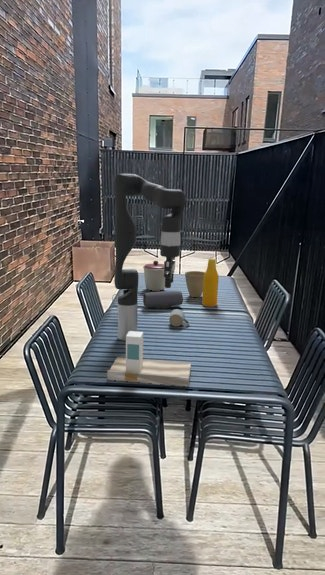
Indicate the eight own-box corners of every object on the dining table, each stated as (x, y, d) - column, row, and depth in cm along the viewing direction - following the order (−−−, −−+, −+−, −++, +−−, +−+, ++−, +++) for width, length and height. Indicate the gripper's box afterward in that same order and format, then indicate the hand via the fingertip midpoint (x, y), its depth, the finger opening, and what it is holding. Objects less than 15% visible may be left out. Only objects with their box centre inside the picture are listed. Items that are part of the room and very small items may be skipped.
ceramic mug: (168, 326, 202) (169, 312, 200) (170, 321, 210) (170, 308, 208) (188, 328, 201) (189, 314, 199) (189, 323, 209) (190, 309, 207)
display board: (117, 362, 159) (117, 354, 158) (190, 368, 155) (191, 360, 154) (107, 380, 144) (107, 371, 143) (188, 387, 140) (188, 378, 139)
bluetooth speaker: (177, 304, 244) (178, 288, 241) (183, 308, 235) (183, 292, 233) (142, 306, 237) (142, 290, 234) (146, 311, 228) (147, 294, 226)
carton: (128, 364, 151) (129, 331, 148) (142, 366, 151) (143, 331, 147) (125, 371, 146) (125, 336, 143) (140, 372, 145) (140, 337, 142)
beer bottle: (212, 307, 238) (215, 261, 231) (199, 304, 243) (201, 259, 236) (219, 304, 245) (222, 259, 238) (206, 301, 250) (209, 257, 243)
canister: (158, 294, 265) (159, 263, 260) (137, 290, 275) (137, 260, 270) (172, 289, 280) (173, 260, 275) (151, 285, 290) (152, 257, 285)
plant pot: (191, 292, 273) (192, 270, 269) (210, 296, 264) (211, 273, 260) (179, 296, 261) (180, 273, 257) (198, 300, 252) (200, 276, 249)
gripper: (163, 240, 155) (162, 280, 159) (157, 245, 141) (156, 289, 145) (181, 241, 154) (180, 281, 158) (178, 246, 140) (177, 290, 144)
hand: (169, 285), depth 151 cm, fingers open, 8 cm apart
